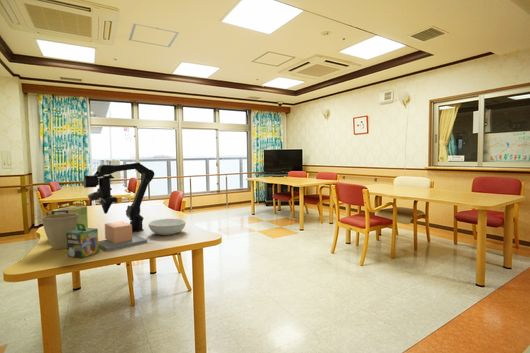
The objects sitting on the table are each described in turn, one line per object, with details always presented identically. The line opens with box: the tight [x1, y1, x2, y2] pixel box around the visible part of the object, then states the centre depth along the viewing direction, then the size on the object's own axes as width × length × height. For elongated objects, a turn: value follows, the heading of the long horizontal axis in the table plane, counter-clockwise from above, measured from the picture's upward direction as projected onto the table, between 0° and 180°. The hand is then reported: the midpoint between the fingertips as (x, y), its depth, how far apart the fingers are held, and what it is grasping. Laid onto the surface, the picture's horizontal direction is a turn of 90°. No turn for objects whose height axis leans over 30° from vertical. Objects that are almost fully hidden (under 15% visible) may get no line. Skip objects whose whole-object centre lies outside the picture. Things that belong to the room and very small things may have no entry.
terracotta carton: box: [104, 220, 133, 243], centre depth 152 cm, size 9×8×13 cm
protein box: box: [51, 205, 89, 229], centre depth 168 cm, size 10×15×16 cm
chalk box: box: [66, 223, 100, 259], centre depth 132 cm, size 9×9×15 cm
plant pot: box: [41, 213, 78, 250], centre depth 143 cm, size 15×15×16 cm
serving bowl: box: [148, 218, 186, 236], centre depth 171 cm, size 21×21×7 cm
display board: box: [98, 233, 148, 252], centre depth 150 cm, size 20×16×2 cm
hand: (105, 213), depth 164 cm, fingers closed
